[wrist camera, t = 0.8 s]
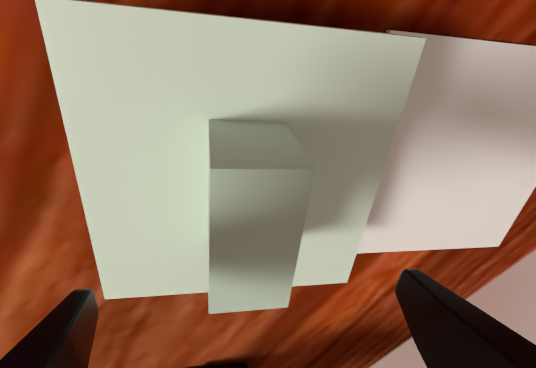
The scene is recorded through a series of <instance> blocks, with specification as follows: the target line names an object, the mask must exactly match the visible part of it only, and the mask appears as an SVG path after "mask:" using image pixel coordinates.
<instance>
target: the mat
mask: <svg viewBox="0 0 536 368" xmlns="http://www.w3.org/2000/svg"><path fill="white" fill-rule="evenodd" d="M386 33H390V34H399V35H409V36H416V37H422V38H426V41H425V44H424V47H423V50H422V53H421V56H420V59H419V63H418V66H417V69H416V72H415V75H414V78H413V81H412V84H411V87H410V90H409V93H408V96H407V100H406V103H405V106H404V109H403V112H402V115H401V118H400V121H399V124H398V127H397V130H396V133H395V136H394V140H393V143H392V146H391V149H390V152H389V155H388V158H387V161H386V164H385V167H384V170H383V173H382V177H381V180H380V183H379V186H378V189H377V192H376V195H375V198H374V201H373V204H372V207H371V210H370V214H369V217H368V220H367V223H366V226H365V229H364V232H363V235H362V238H361V241H360V244H359V247H358V250H357V253H375V252H396V251H416V250H436V249H457V248H477V247H498V246H499V245H500V243H501V242H502V240H503V238H504V237H505V235H506V234H507V232H508V230H509V229H510V227H511V225H512V224H513V222H514V221H515V219H516V217H517V216H518V214H519V213H520V211H521V209H522V208H523V206H524V204H525V203H526V201H527V200H528V198H529V196H530V195H531V193H532V191H533V190H534V188H535V187H536V46H530V45H521V44H512V43H503V42H494V41H485V40H476V39H467V38H458V37H449V36H440V35H431V34H422V33H413V32H404V31H395V30H387V31H386Z"/></svg>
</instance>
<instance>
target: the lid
mask: <svg viewBox="0 0 536 368" xmlns="http://www.w3.org/2000/svg"><path fill="white" fill-rule="evenodd" d="M35 2H36V7H37V11H38V15H39V19H40V24H41V28H42V32H43V37H44V41H45V45H46V49H47V54H48V58H49V62H50V67H51V71H52V75H53V79H54V84H55V88H56V92H57V96H58V101H59V105H60V109H61V114H62V118H63V122H64V126H65V131H66V135H67V139H68V144H69V148H70V152H71V156H72V161H73V165H74V169H75V174H76V178H77V182H78V186H79V191H80V195H81V199H82V204H83V208H84V212H85V216H86V221H87V225H88V229H89V233H90V238H91V242H92V246H93V251H94V255H95V259H96V263H97V268H98V272H99V276H100V281H101V285H102V289H103V293H104V298H105V299H117V298H131V297H146V296H160V295H175V294H189V293H204V292H208V308H209V314H214V313H226V312H238V311H250V310H262V309H274V308H286V307H288V304H289V299H290V294H291V289H292V286H305V285H319V284H334V283H347V281H348V278H349V275H350V272H351V269H352V266H353V263H354V260H355V257H356V254H357V250H358V247H359V244H360V241H361V238H362V235H363V232H364V229H365V226H366V223H367V220H368V217H369V214H370V210H371V207H372V204H373V201H374V198H375V195H376V192H377V189H378V186H379V183H380V180H381V177H382V173H383V170H384V167H385V164H386V161H387V158H388V155H389V152H390V149H391V146H392V143H393V140H394V136H395V133H396V130H397V127H398V124H399V121H400V118H401V115H402V112H403V109H404V106H405V103H406V100H407V96H408V93H409V90H410V87H411V84H412V81H413V78H414V75H415V72H416V69H417V66H418V63H419V59H420V56H421V53H422V50H423V47H424V44H425V41H426V38H422V37H416V36H409V35H399V34H390V33H381V32H372V31H362V30H353V29H344V28H335V27H325V26H316V25H307V24H298V23H289V22H279V21H270V20H261V19H252V18H242V17H233V16H224V15H215V14H205V13H196V12H187V11H178V10H168V9H159V8H150V7H141V6H131V5H122V4H113V3H104V2H94V1H85V0H35Z"/></svg>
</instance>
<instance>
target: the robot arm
mask: <svg viewBox="0 0 536 368" xmlns="http://www.w3.org/2000/svg"><path fill="white" fill-rule="evenodd" d="M395 293H396V296H397V299H398V301H399V304H400V307H401V309H402V312H403V314H404V317H405V319H406V322H407V324H408V327H409V330H410V332H411V335H412V337H413V339H414V342H415V344H416V346H417V348H418V350H419V352H420V354H421V356H422V358H423V360H424V362H425V364H426V366H427V368H536V345H535V344H533V343H532V342H530V341H528V340H527V339H525V338H524V337H522V336H521V335H519V334H518V333H516V332H514V331H513V330H511V329H510V328H508V327H507V326H505V325H504V324H502V323H501V322H499V321H497V320H496V319H494V318H493V317H491V316H490V315H488V314H487V313H485V312H483V311H482V310H480V309H479V308H477V307H476V306H474V305H473V304H471V303H469V302H468V301H466V300H465V299H463V298H462V297H460V296H459V295H457V294H455V293H454V292H452V291H451V290H449V289H448V288H446V287H445V286H443V285H441V284H440V283H438V282H437V281H435V280H434V279H432V278H431V277H429V276H428V275H426V274H424V273H423V272H421V271H420V270H418V269H405V270H403V271H402V273H401V275H400V277H399V280H398V282H397V284H396V287H395ZM97 320H98V307H97V303H96V299H95V295H94V292H93V290H92V289H77V290H74V291H73V292H71V293H70V294H69V295H68V296H67V297H66V298H65V299H64V300H63V301H62V302H61V303H60V304H59V305H58V306H57V307H55V308H54V309H53V310H52V311H51V312H50V313H49V314H48V315H47V316H46V317H45V318H44V319H43V320H42V321H41V322H40V323H39V324H38V325H37V326H35V327H34V328H33V329H32V330H31V331H30V332H29V333H28V334H27V335H26V336H25V337H24V338H23V339H22V340H21V341H20V342H19V343H18V344H17V345H15V346H14V347H13V348H12V349H11V350H10V351H9V352H8V353H7V354H6V355H5V356H4V357H3V358H2V359H1V360H0V368H88V363H89V359H90V354H91V349H92V344H93V339H94V334H95V330H96V325H97ZM211 368H247V365H246V364H237V365H228V366H220V367H211Z"/></svg>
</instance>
